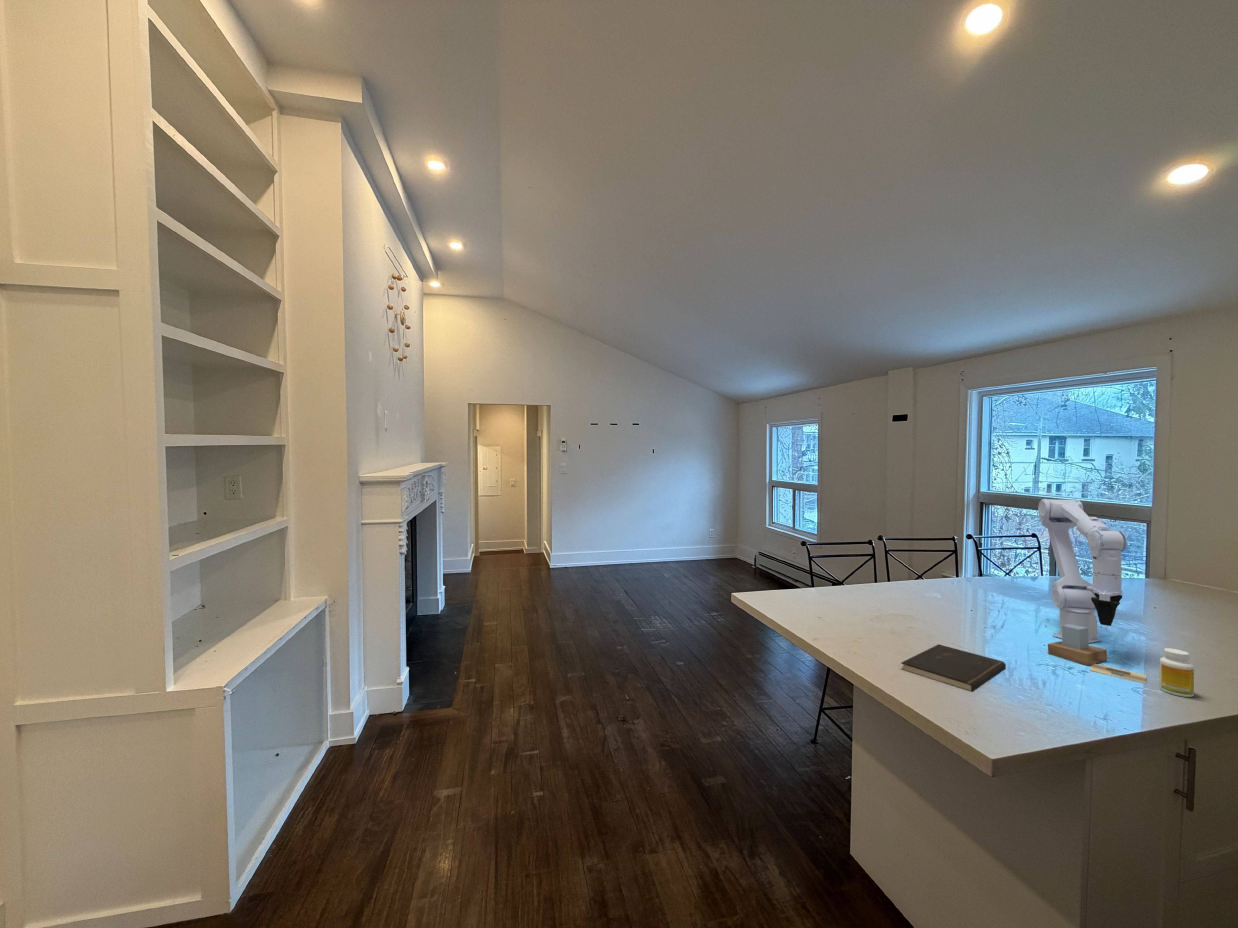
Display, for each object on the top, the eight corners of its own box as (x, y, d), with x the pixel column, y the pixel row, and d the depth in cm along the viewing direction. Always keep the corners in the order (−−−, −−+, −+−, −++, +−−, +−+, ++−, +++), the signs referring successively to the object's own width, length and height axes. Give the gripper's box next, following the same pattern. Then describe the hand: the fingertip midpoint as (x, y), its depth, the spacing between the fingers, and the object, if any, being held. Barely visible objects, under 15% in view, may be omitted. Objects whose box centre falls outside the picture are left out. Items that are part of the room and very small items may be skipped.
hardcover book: (901, 671, 129) (901, 662, 129) (938, 651, 142) (938, 644, 142) (972, 693, 116) (972, 684, 116) (1005, 670, 130) (1005, 661, 130)
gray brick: (1071, 643, 140) (1070, 623, 140) (1088, 647, 136) (1087, 627, 136) (1062, 645, 139) (1061, 625, 139) (1080, 649, 135) (1079, 629, 135)
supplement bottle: (1198, 699, 112) (1198, 657, 113) (1164, 693, 115) (1164, 652, 115) (1188, 690, 117) (1187, 649, 117) (1155, 685, 120) (1155, 645, 120)
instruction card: (1092, 663, 133) (1092, 662, 133) (1146, 675, 125) (1146, 674, 125) (1089, 670, 128) (1089, 669, 128) (1145, 683, 121) (1145, 682, 121)
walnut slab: (1067, 650, 143) (1066, 639, 143) (1107, 660, 135) (1106, 649, 135) (1048, 654, 140) (1047, 643, 140) (1087, 665, 131) (1087, 653, 131)
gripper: (1089, 567, 145) (1089, 613, 145) (1084, 574, 136) (1084, 623, 136) (1124, 571, 140) (1124, 619, 140) (1120, 579, 130) (1120, 630, 130)
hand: (1106, 622), depth 137 cm, fingers open, 7 cm apart
